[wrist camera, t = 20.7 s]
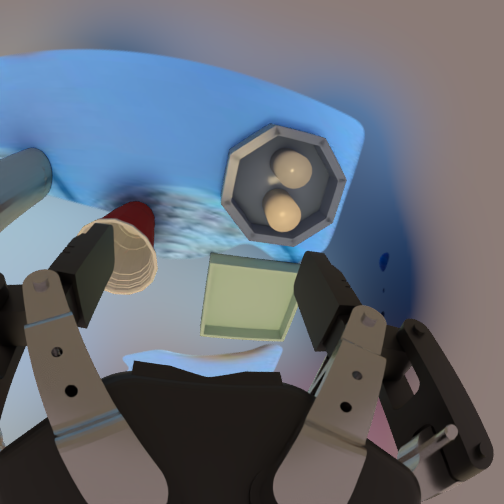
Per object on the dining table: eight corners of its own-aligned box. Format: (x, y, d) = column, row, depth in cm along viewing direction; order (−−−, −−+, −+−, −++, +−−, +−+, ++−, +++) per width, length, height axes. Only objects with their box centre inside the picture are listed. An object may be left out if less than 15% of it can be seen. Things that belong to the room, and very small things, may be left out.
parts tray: (200, 324, 51) (200, 336, 48) (210, 252, 43) (210, 262, 40) (280, 330, 54) (283, 341, 51) (305, 264, 46) (310, 274, 44)
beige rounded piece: (266, 175, 37) (273, 185, 33) (273, 144, 35) (281, 150, 31) (296, 180, 38) (307, 191, 34) (303, 151, 36) (315, 158, 31)
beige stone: (258, 213, 40) (263, 228, 35) (267, 185, 38) (273, 196, 33) (286, 219, 41) (294, 234, 36) (295, 192, 39) (305, 205, 34)
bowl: (215, 223, 41) (215, 236, 37) (236, 116, 33) (238, 117, 30) (314, 238, 44) (322, 250, 40) (343, 143, 36) (356, 148, 33)
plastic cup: (117, 255, 41) (92, 302, 31) (97, 194, 36) (60, 228, 25) (178, 245, 42) (167, 294, 31) (163, 179, 36) (141, 210, 26)
